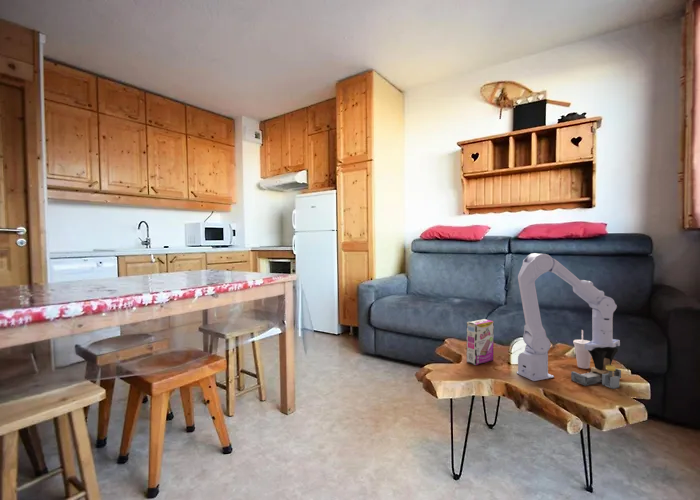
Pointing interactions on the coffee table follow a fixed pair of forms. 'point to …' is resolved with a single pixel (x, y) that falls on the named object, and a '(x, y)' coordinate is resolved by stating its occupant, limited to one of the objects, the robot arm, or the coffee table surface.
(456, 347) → the coffee table surface
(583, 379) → the rail
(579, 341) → the smoothie
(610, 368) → the gauge button
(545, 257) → the robot arm
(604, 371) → the carriage
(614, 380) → the post
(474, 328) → the candy bar box
